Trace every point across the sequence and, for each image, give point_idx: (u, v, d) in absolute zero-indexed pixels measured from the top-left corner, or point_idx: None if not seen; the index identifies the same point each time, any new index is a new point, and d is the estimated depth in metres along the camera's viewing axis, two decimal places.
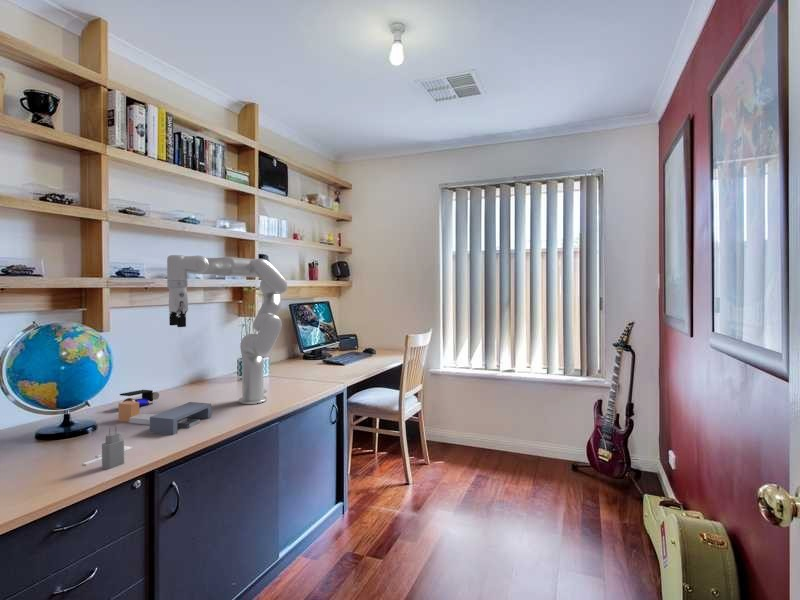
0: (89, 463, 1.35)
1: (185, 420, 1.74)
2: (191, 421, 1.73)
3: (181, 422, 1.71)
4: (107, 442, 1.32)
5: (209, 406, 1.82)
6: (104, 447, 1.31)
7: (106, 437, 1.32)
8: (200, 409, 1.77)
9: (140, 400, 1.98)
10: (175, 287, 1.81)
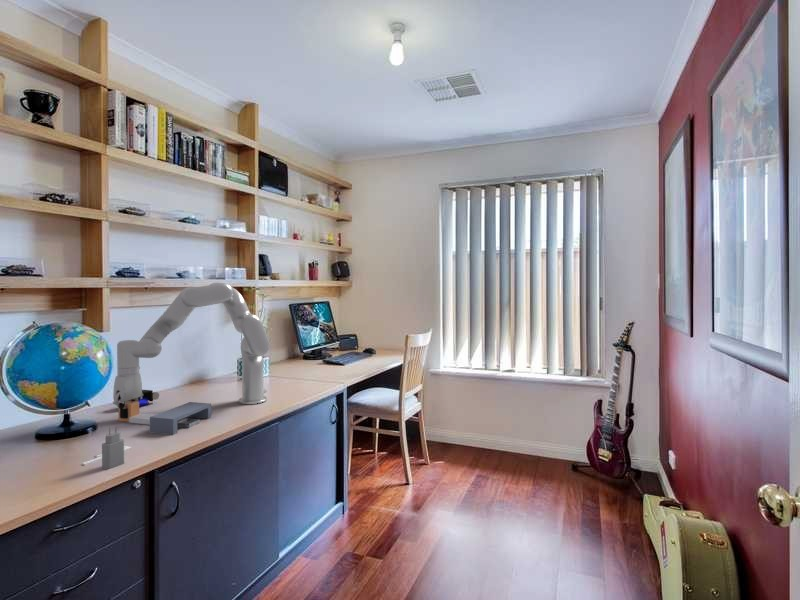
0: (88, 463, 1.35)
1: (185, 420, 1.74)
2: (191, 421, 1.73)
3: (181, 422, 1.71)
4: (107, 442, 1.32)
5: (209, 406, 1.82)
6: (104, 447, 1.31)
7: (106, 437, 1.32)
8: (200, 409, 1.77)
9: (140, 400, 1.98)
10: None
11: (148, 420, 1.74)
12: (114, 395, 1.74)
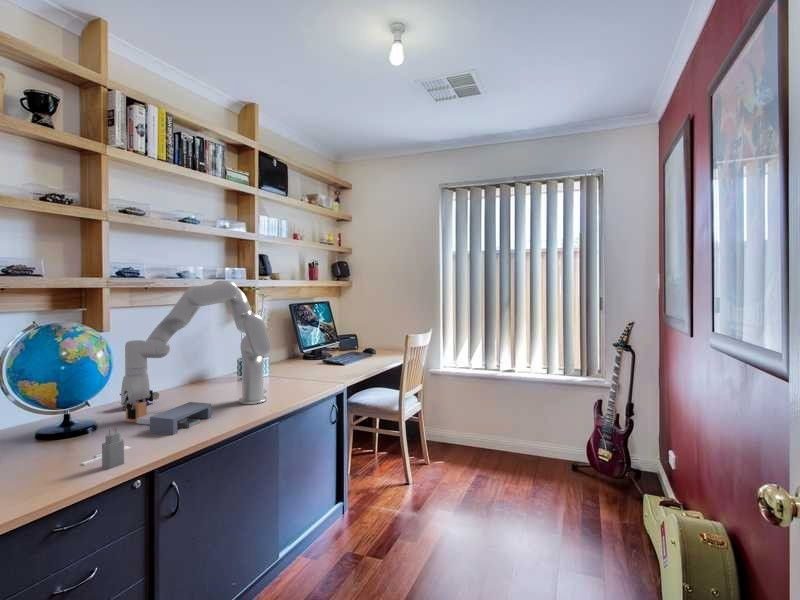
0: (87, 463, 1.35)
1: (185, 420, 1.74)
2: (191, 421, 1.73)
3: (181, 422, 1.71)
4: (107, 442, 1.32)
5: (209, 406, 1.82)
6: (104, 447, 1.31)
7: (106, 437, 1.32)
8: (200, 409, 1.77)
9: None
10: None
11: None
12: (122, 395, 1.73)
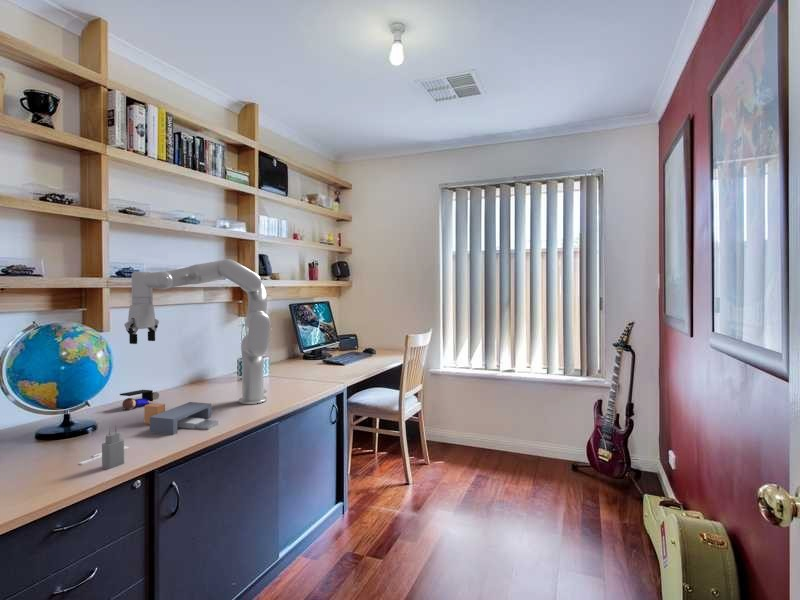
0: (85, 463, 1.35)
1: (204, 422, 1.72)
2: (210, 422, 1.71)
3: (200, 424, 1.69)
4: (107, 442, 1.32)
5: (209, 406, 1.82)
6: (104, 447, 1.31)
7: (106, 437, 1.32)
8: (200, 409, 1.77)
9: (140, 400, 1.98)
10: None
11: None
12: None
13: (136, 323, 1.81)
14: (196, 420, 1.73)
